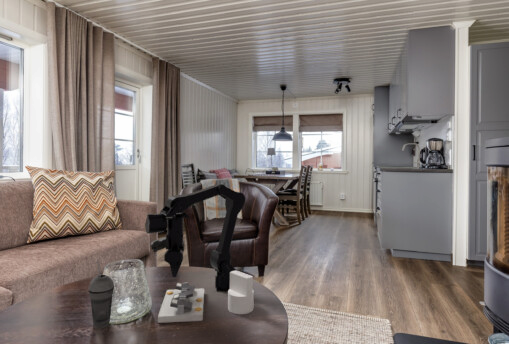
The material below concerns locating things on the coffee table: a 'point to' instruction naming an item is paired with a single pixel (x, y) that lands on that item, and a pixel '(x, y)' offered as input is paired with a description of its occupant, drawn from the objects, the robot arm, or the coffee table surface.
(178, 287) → the switch
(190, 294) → the switch
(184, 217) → the robot arm
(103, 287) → the beverage cup
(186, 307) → the switch
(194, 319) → the switch panel
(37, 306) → the coffee table surface
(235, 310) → the cylinder with rectangular tab
